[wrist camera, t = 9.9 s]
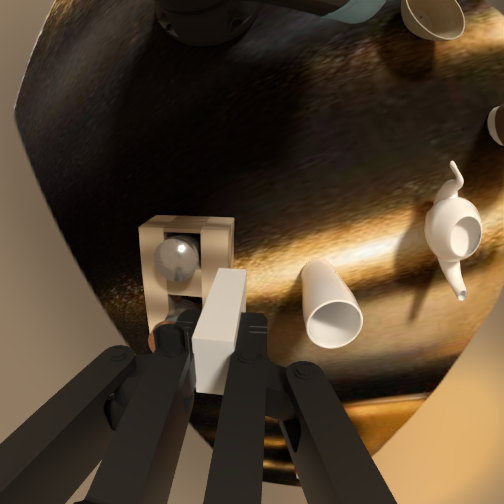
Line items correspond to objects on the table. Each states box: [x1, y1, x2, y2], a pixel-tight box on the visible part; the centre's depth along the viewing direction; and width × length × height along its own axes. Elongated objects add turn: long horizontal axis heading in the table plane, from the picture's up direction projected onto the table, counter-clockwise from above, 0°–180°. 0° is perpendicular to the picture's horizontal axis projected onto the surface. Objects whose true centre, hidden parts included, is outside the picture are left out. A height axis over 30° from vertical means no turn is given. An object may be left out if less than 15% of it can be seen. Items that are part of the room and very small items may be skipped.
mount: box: [139, 215, 234, 333], centre depth 47 cm, size 24×12×7 cm, turn 178°
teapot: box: [424, 161, 482, 301], centre depth 40 cm, size 10×20×9 cm, turn 12°
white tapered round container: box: [401, 0, 465, 41], centre depth 30 cm, size 10×10×7 cm
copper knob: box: [148, 299, 199, 353], centre depth 40 cm, size 5×5×8 cm
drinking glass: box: [301, 258, 363, 348], centre depth 41 cm, size 7×7×15 cm
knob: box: [154, 232, 201, 282], centre depth 41 cm, size 5×5×8 cm
